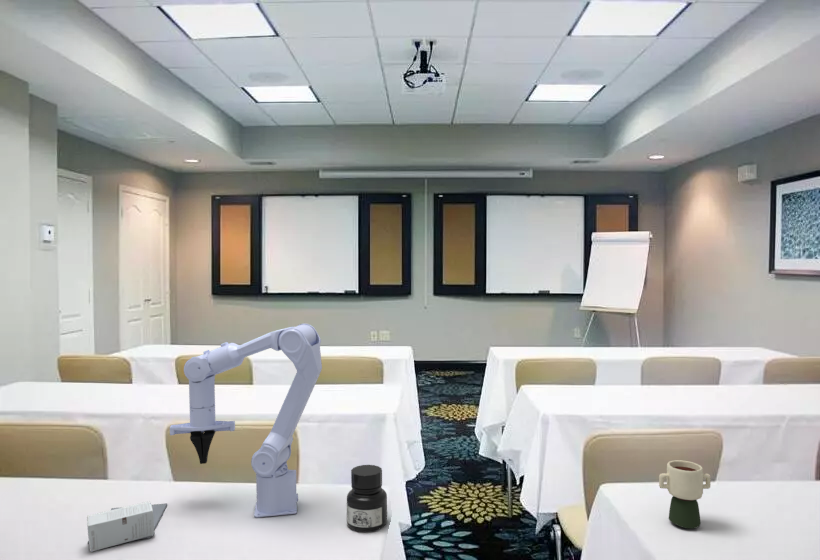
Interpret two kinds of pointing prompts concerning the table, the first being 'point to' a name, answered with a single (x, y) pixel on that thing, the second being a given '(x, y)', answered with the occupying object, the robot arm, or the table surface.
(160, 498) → the table surface
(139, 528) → the skincare box
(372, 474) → the ink bottle
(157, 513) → the slate mat
